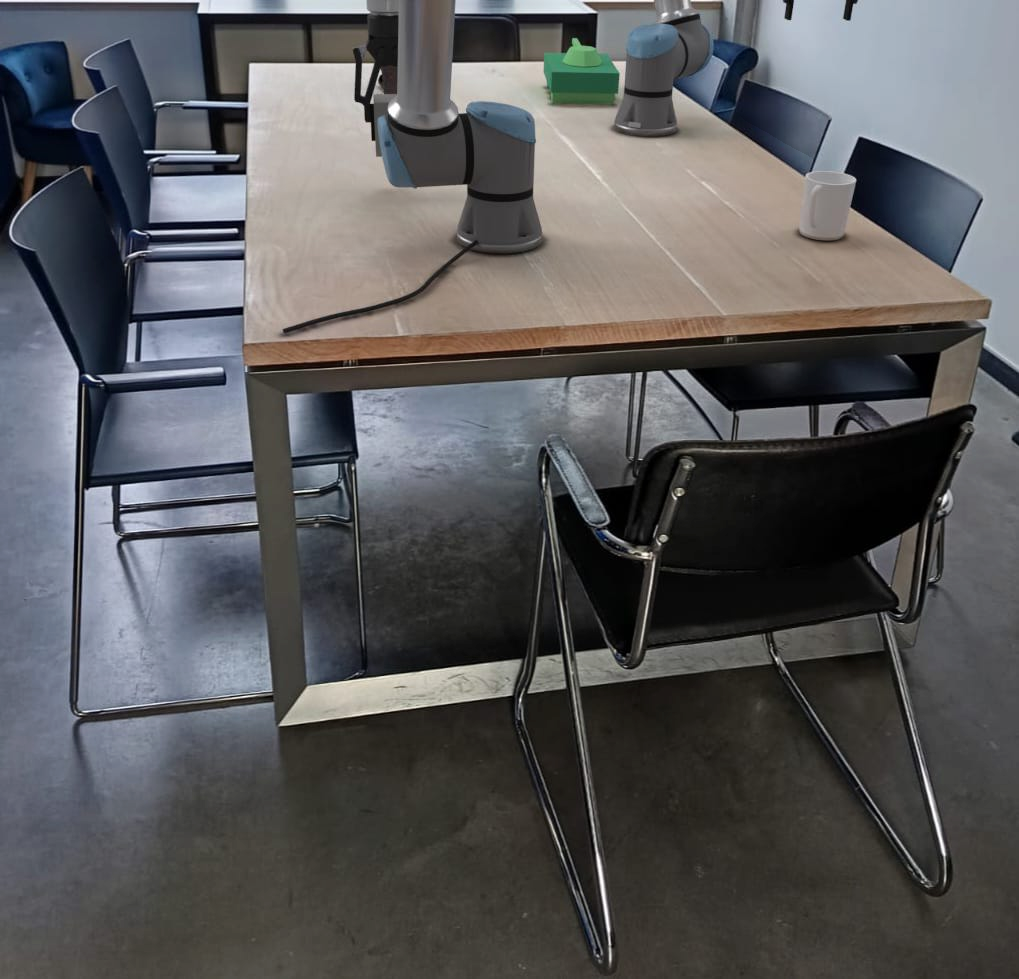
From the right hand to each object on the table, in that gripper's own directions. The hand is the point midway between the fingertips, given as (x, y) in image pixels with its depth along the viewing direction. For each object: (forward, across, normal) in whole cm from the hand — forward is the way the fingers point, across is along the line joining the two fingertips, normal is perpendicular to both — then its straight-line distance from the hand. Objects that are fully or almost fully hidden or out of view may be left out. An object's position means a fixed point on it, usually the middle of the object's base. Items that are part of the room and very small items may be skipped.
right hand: (817, 19), depth 244 cm
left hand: (+17, +95, +35) cm, 103 cm away
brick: (+20, +95, +35) cm, 103 cm away
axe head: (+28, +92, -59) cm, 113 cm away
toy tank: (+28, +44, -57) cm, 77 cm away
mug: (+28, +18, +66) cm, 73 cm away
